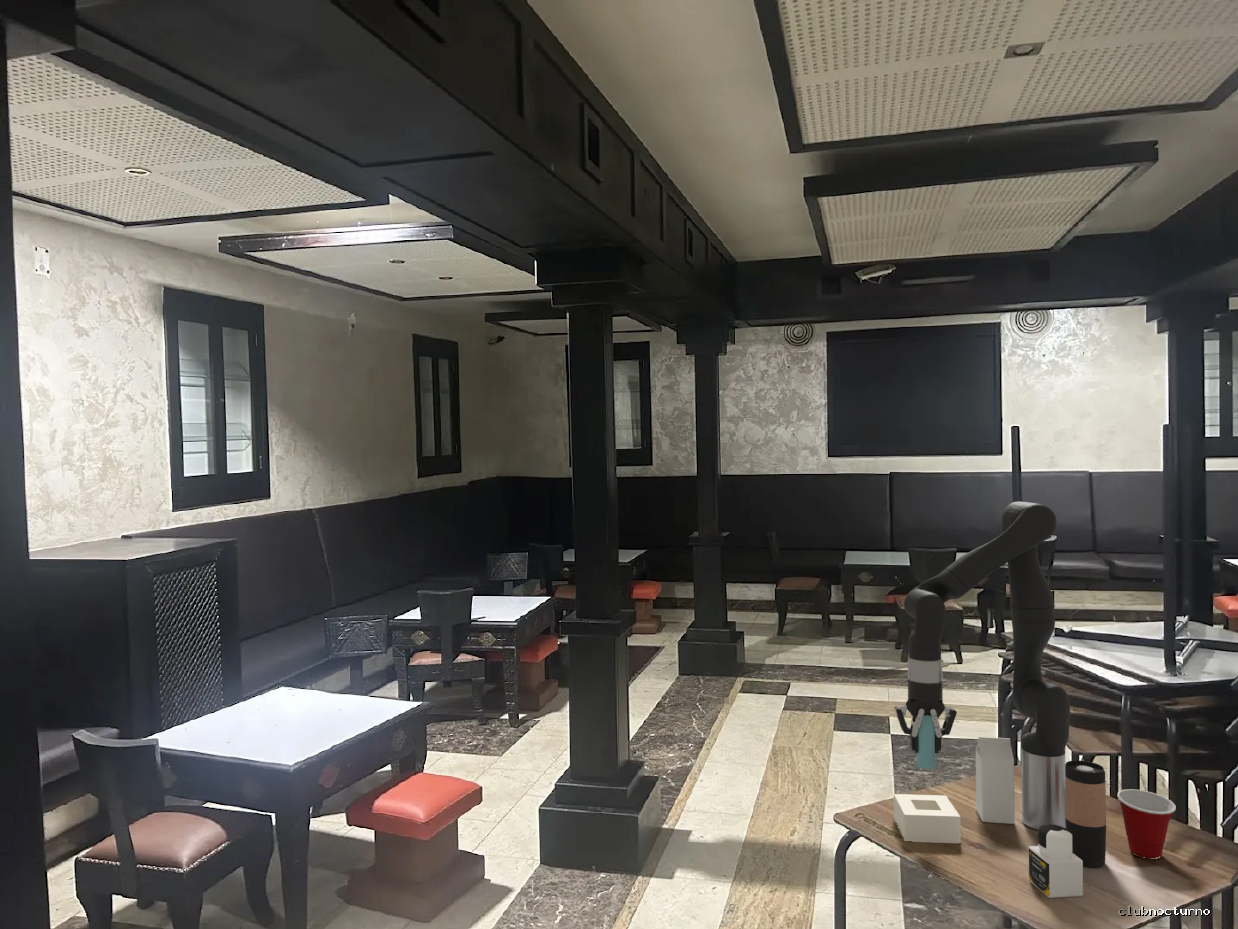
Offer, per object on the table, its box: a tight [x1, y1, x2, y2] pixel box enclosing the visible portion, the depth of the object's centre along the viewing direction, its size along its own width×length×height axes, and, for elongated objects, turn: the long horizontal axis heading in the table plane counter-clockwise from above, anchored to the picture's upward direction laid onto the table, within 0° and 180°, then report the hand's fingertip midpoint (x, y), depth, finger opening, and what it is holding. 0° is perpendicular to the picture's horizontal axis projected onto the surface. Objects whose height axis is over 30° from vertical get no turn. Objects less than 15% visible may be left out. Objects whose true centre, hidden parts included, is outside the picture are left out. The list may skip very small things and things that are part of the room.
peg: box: [916, 715, 936, 770], centre depth 197 cm, size 4×4×12 cm
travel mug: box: [1065, 759, 1107, 869], centre depth 182 cm, size 8×8×20 cm
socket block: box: [893, 793, 962, 844], centre depth 198 cm, size 12×12×6 cm
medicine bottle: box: [1028, 824, 1084, 899], centre depth 171 cm, size 7×7×12 cm
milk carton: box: [975, 736, 1016, 825], centre depth 204 cm, size 7×7×19 cm
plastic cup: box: [1116, 788, 1177, 858], centre depth 185 cm, size 11×11×12 cm
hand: (925, 751), depth 197 cm, fingers closed on peg, 4 cm apart
